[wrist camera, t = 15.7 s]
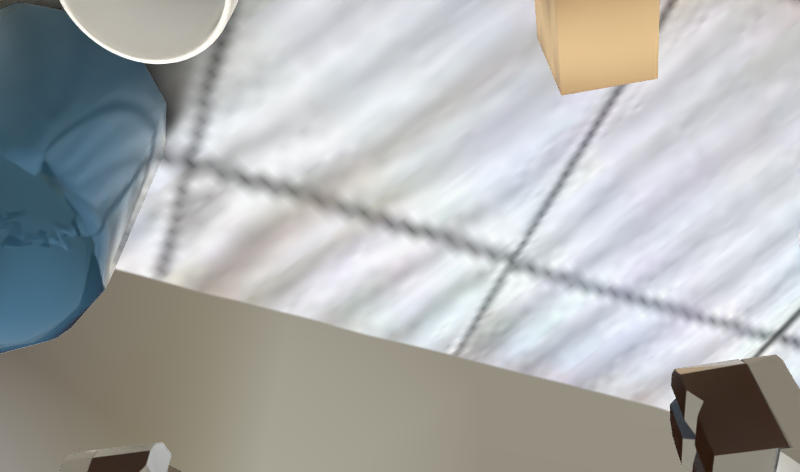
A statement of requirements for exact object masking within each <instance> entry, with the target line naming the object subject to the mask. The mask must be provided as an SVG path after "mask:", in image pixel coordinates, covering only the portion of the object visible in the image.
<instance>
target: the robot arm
mask: <svg viewBox="0 0 800 472" xmlns="http://www.w3.org/2000/svg"><path fill="white" fill-rule="evenodd" d="M799 245H800V230H799ZM671 387H672V389H673V392H674V394H675V397H676V399H675V400H674V401H673V402H672V403H671V404H670V423H671V430H672V436H673V440H674V444H675V447H676V450H677V453H678V456H679V459H680V462H681V464H682V465H683V466H685V467H686V468H687V469H689V470H690V471H691V472H800V389H799V387H798V386H797V384H796V382H795V381H794V379H793V377H792V375H791V374H790V372H789V370H788V369H787V367H786V365H785V363H784V362H783V360H782V359H781V358H780V357H778V356H777V355H769V356H762V357H755V358H748V359H742V360H739V359H736V360H730V361H723V362H717V363H710V364H704V365H697V366H691V367H684V368H678V369H674V371H673V373H672V377H671ZM170 457H171V454H170V452H169V451H168V449H167V448H166V447H165V445H164V443H153V444H144V445H135V446H127V447H117V448H110V449H100V450H93V451H85V452H78V453H71V454H69V455H68V457H67V458H66V459H65V460H64V461H63V463H62V464H61V467H60V469H59V472H181V471H180V470H178V469H176V468H174V467H172V466H170V465H169V462H170Z"/></svg>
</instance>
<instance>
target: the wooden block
mask: <svg viewBox="0 0 800 472" xmlns="http://www.w3.org/2000/svg"><path fill="white" fill-rule="evenodd" d="M659 6H660V0H535V11H536V24H537V37H538V40H539V43H540V45H541V47H542V50H543V52H544V55H545V57H546V59H547V62H548V64H549V67H550V69H551V71H552V74H553V76H554V79H555V81H556V83H557V86H558V88H559V91H560V93H561V95H566V94H572V93H578V92H584V91H589V90H595V89H601V88H606V87H612V86H618V85H624V84H629V83H635V82H641V81H646V80H652V79H658V45H659Z"/></svg>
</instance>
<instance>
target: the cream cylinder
mask: <svg viewBox="0 0 800 472" xmlns="http://www.w3.org/2000/svg"><path fill="white" fill-rule="evenodd" d="M238 1H239V0H60V2H61V4H62V6H63V8H64V9H65V11H66V12H67V14H68V15H69V17H70V18H71V19H72V20H73V22H74V23H75V24H76V25H77V26H78V27H79V28H80V29H81V30H82V31H83V32H84V33H85V34H86V35H87V36H88V37H89V38H90V39H92V40H93V41H94V42H96V43H97V44H99V45H100V46H102V47H103V48H105V49H107V50H108V51H110V52H112V53H114V54H116V55H119V56H121V57H124V58H126V59H129V60H133V61H137V62H142V63H150V64H168V63H174V62H179V61H183V60H186V59H189V58H191V57H193V56H195V55H197V54H199V53H201V52H202V51H204V50H205V49H207V48H208V47H209V46H210V45H211V44H212V43H213V42H214V41H215V40H216V39H217V38H218V37H219V35H220V34H221V33H222V31H223V30H224V28H225V26H226V24H227V22H228V20H229V19H230V17H231V15H232V13H233V11H234V9H235V7H236V5H237V3H238Z"/></svg>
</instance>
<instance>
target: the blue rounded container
mask: <svg viewBox="0 0 800 472" xmlns="http://www.w3.org/2000/svg"><path fill="white" fill-rule="evenodd" d="M166 105H167V103H166V101H165V99H164V97H163V95H162V93H161V92H160V90H159V88H158V86H157V85H156V83H155V81H154V79H153V77H152V76H151V74H150V72H149V70H148V69H147V67H146V65H145V63H142V62H137V61H133V60H129V59H126V58H124V57H121V56H119V55H116V54H114V53H112V52H110V51H108V50H107V49H105V48H103V47H102V46H100V45H99V44H97V43H96V42H94V41H93V40H92V39H90V38H89V37H88V36H87V35H86V34H85V33H84V32H83V31H82V30H81V29H80V28H79V27H78V26H77V25H76V24H75V23H74V22H73V20H72V19H71V18H70V17H69V15H68V14H67V12H66V11H65V10H61V9H56V8H50V7H45V6H40V5H34V4H29V3H21V2H18V3H15V4H12V5H10V6H7V7H4V8H1V9H0V354H1V353H5V352H8V351H12V350H15V349H19V348H23V347H27V346H30V345H34V344H38V343H42V342H46V341H50V340H52V339H55V338H57V337H59V336H60V335H62V334H63V333H65V332H66V331H68V330H69V329H70V328H72V326H73V325H74V324H75V323H76V322H77V321H78V320H79V318H80V317H81V316H82V315H83V314H84V313H85V312H86V310H87V309H88V308H89V307H90V306H91V305H92V304H93V303H94V301H95V300H96V299H97V298H98V297H99V296H100V295H101V293H102V292H103V291H104V290H105V288H106V286H107V285H108V283H109V281H110V279H111V276H112V274H113V272H114V269H115V267H116V265H117V262H118V260H119V258H120V255H121V253H122V251H123V248H124V246H125V244H126V241H127V239H128V237H129V234H130V232H131V230H132V227H133V225H134V223H135V220H136V218H137V216H138V213H139V211H140V209H141V206H142V204H143V202H144V199H145V197H146V195H147V192H148V190H149V188H150V185H151V183H152V181H153V178H154V176H155V174H156V171H157V169H158V167H159V164H160V162H161V160H162V157H163V155H164V153H165V136H166Z"/></svg>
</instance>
